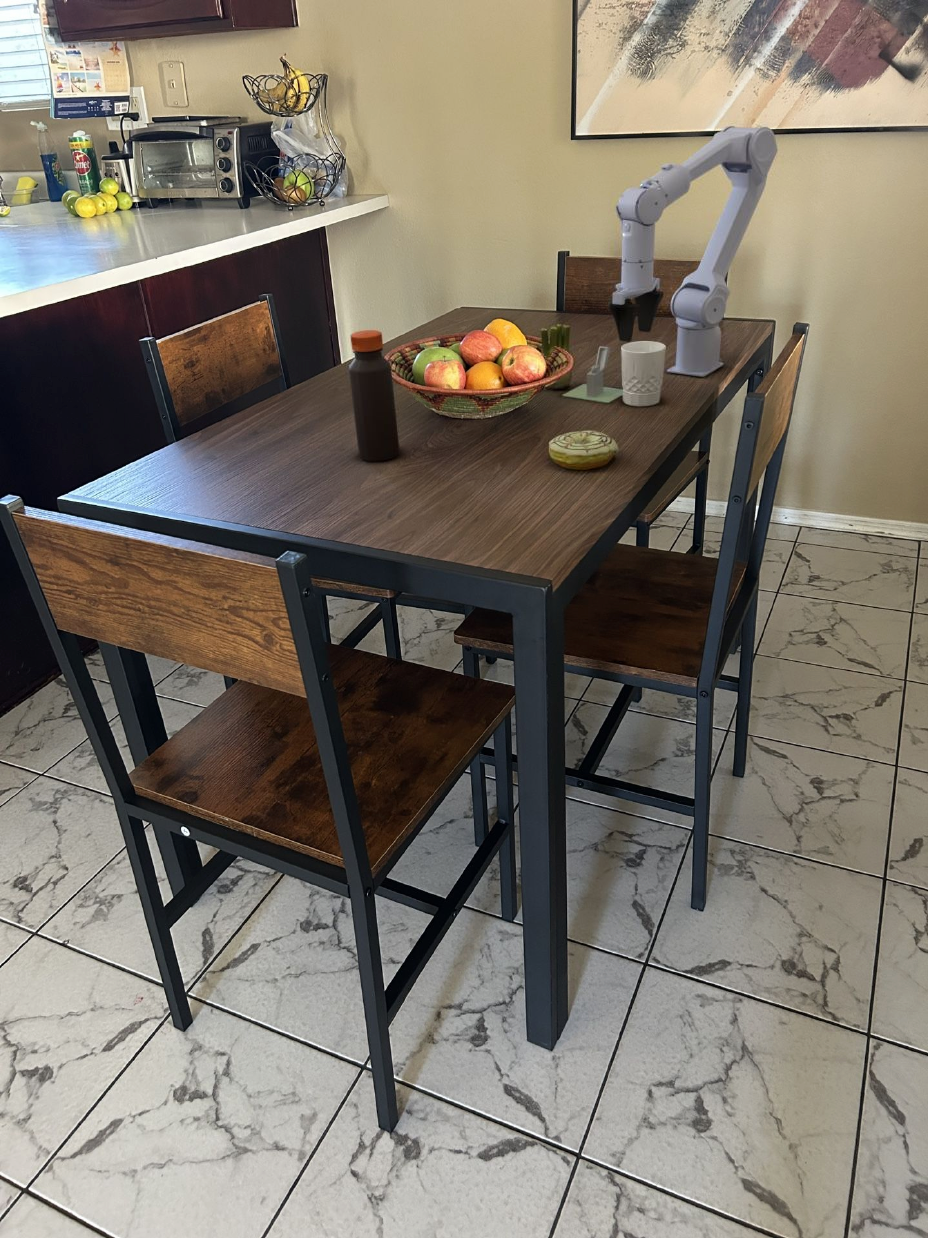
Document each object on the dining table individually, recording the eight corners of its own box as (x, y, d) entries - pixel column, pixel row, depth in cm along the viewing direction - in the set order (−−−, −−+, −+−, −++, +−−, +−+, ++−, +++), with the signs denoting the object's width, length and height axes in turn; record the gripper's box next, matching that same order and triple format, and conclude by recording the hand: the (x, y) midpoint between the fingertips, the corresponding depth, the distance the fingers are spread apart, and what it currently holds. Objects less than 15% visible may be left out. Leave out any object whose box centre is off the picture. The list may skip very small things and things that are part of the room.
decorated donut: (629, 456, 148) (630, 434, 146) (589, 478, 142) (590, 454, 140) (577, 444, 155) (577, 422, 153) (536, 463, 148) (535, 440, 146)
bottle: (382, 445, 160) (369, 326, 150) (408, 453, 156) (396, 331, 145) (351, 456, 156) (335, 335, 146) (376, 465, 152) (362, 341, 141)
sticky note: (583, 384, 183) (583, 383, 183) (629, 391, 177) (629, 390, 177) (562, 395, 178) (562, 394, 177) (608, 403, 172) (608, 402, 172)
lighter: (594, 397, 175) (595, 354, 171) (586, 396, 176) (586, 354, 172) (609, 386, 180) (610, 345, 176) (601, 385, 181) (601, 344, 177)
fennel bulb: (540, 391, 181) (539, 328, 175) (543, 384, 185) (542, 322, 179) (570, 391, 180) (570, 328, 174) (572, 383, 184) (572, 321, 178)
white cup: (661, 393, 175) (664, 340, 170) (664, 407, 168) (667, 351, 163) (618, 395, 176) (620, 341, 171) (620, 408, 169) (622, 353, 164)
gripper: (637, 251, 176) (634, 325, 183) (598, 265, 166) (597, 342, 173) (671, 253, 172) (667, 328, 179) (633, 268, 163) (631, 346, 170)
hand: (635, 335), depth 176 cm, fingers open, 7 cm apart
